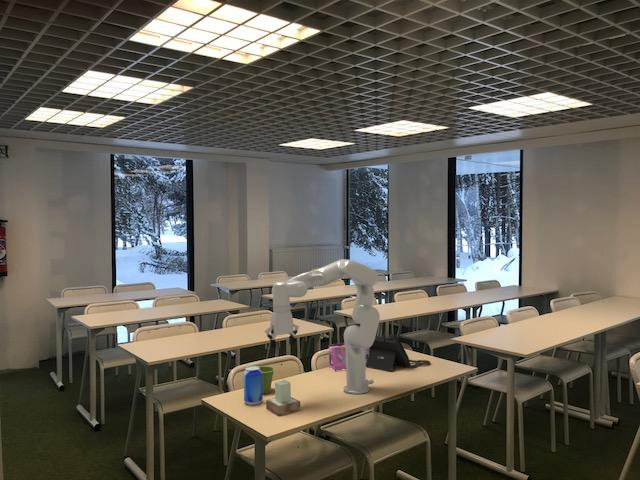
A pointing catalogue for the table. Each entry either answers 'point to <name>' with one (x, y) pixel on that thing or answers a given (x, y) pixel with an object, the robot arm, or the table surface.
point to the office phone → (389, 354)
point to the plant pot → (266, 378)
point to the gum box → (340, 356)
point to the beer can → (252, 385)
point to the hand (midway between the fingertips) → (282, 346)
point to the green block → (282, 391)
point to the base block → (282, 406)
